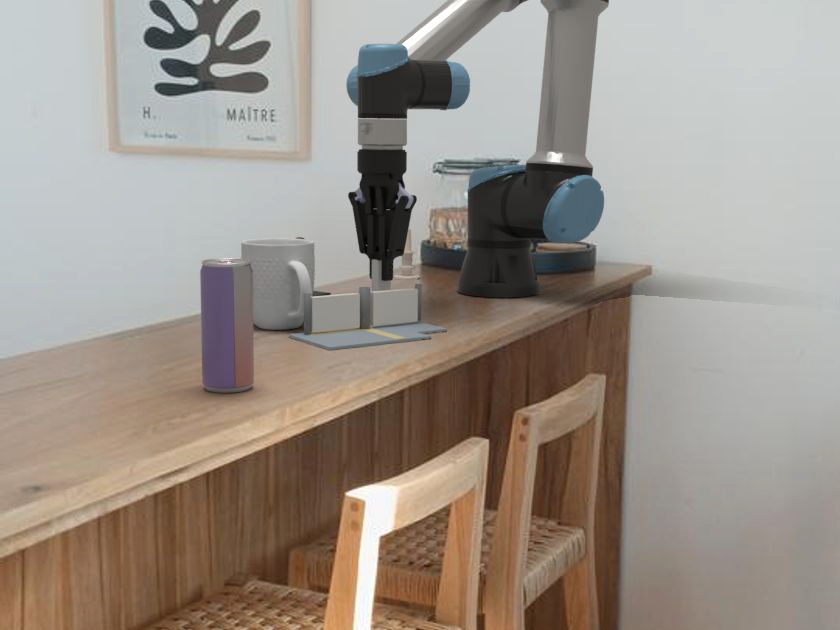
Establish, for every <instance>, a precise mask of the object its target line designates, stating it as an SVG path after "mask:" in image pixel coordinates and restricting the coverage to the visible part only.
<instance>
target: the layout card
mask: <svg viewBox="0 0 840 630" xmlns="http://www.w3.org/2000/svg"><path fill="white" fill-rule="evenodd" d="M440 331H448V329H447V328H445V327H442V326H436V325H433V324H429V323H425V322H421V321H416V322H406V323H397V324H387V325H377V326H372V325H370V329H359V327H358V328H348V329H338V330H328V331H318V332H311V334H310V335H304V332H299V333H290V334H289V333H288V338H290V339H294V340H296V341H299V342H303V343H306V344H309V345H313V346H315V347H318V348H322V349H325V350H327V351H335V350H343V349H344V350H345V349H350V348H351V349H353V348H362V347H370V346H379V345H387V344H397V343H405V342H406V343H407V342H416V341H423V340H422V339H425V340H430V339H429V338H431V339H432V335H429V334H434V333H433V332H437V333H441V332H440ZM425 333H428V334H425ZM415 340H416V341H415Z"/></svg>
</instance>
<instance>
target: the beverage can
mask: <svg viewBox="0 0 840 630" xmlns="http://www.w3.org/2000/svg"><path fill="white" fill-rule="evenodd" d="M250 263H251V261H250V260H247V259H241V258H235V257H234V258H231V257H228V258H227V257H226V258H223V257H222V258H209V259H208V258H207V259H204V260H202V261H201V264H202V265H201V268H200V273H199V274H200V275H199V277H200V278H199V279H200V325H201V326H200V328H201V330H200V331H201V376H202V377H201V380H202V381H201V383H202V385H203V386H204V389H206V391H208V392H211V393H220V394H235V393H242V392H246V391H249V390H250V389H251V388H252V386H253V385H254V382H255V373H254V371H255V370H254V369H255V365H254V364H255V362H254V360H255V359H254V356H255V355H254V353H255V352H254V351H255V350H254V349H255V348H254V322H253V270H252V268H251V265H250Z"/></svg>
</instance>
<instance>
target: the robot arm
mask: <svg viewBox="0 0 840 630" xmlns="http://www.w3.org/2000/svg"><path fill="white" fill-rule="evenodd" d="M527 1H529V0H447V1H446V2H444V3H443V4H441V6H439V7H438V8H437V9H436V10H434V11H433V12H432V13H431V14H430V15H428V16H427V17H426V18H425V19H424V20H423V21H422V22H420V23H419V24H418V25H417V26H415V27H414V28H413V29H412V30H410V31H409V33H407V34H406V35H405V36H404V37H402V38H401V39H400V40H399V41H398V42H396V43H367V44H364V45H362V46H361V47H360V48H359V50H358V57H357V64H356V66H354V67H353V68H352V69H351V70H350V71H349V73H348V75H347V78H346V92H347V96H348V98H349V99H350V101H351V102H352V103H353V104H354V105H355V106H356V107H357V144H358V145H359V146H361V148H359V149H358V150H357V152H356V153H357V155H356V156H357V160H356V161H357V162H356V163H357V165H356V167H357V172H358V173H359V174H361V178H360V181H359V187H358V188H357V189H356V190H355V191H349V192H348V194H347V197H348V199H349V202H350V205H351V206H352V212H353V219H354V224H355V230H356V238H357V244H358V248H359V249H358V250H359V252H360V254H364V255H366V256H367V258H368V259H369V274H368V275H369V278H370V280H371V292H373V291H385V290H392V281H393V279H394V260H395V259H397V258H399V257H402V256H403V254H404V250H405V245H406V239H407V234H408V229H410V228H409V227H410V223H411V219H412V212H413V208H414V207H415V205H416V203H417V199H418V198H417V196H416V195H415V194H409V192H408V191H407V190H405V189H406V185H405V182H404V179H403V178H404V177H403V176H404V175H405V174H406V173H407V171H408V170H407V169H408V167H407V161H408V160H407V156H408V155H407V152H408V151H406V149H404V147H405V146H407V145H408V129H407V128H408V120H407V119H408V110H439V111H447V110H457V109H459V108H460V107H462V106H463V105H465V103H466V101H467V100H468V99H469V96H470V91H471V79H470V78H471V77H470V74H469V72H468V70H467V69H466V67H464V65H462V63H461V64H460V63H459V62H456V61H449V60H448V59H449V58H450V57H452V56H453V55H454V54H455V53H456V52H457V51H458V50H460V49H461V48H462V46H464V45H466V43H468V41H470V40H471V39H472V38H473V37H475V36H476V35H478V33H479V32H481V30H483V29H484V28H485V27H486V26H487V25H489V24H490V23H491V22H492V21H493V20H494V19H496V17H498V16H499V15H501V13H509V12H512V11H514V10H515V9H516V8H517V7H519V6H520V5H521V4H523V3H525V2H527ZM609 3H610V0H540V4H541V5H542V6H543V7H544V8H545V9H546V11H547V25H546V26H547V27H546V35H545V36H546V37H545V47H544V58H543V67H542V69H543V70H542V81H541V91H540V100H539V101H540V103H539V111H538V112H539V113H538V114H539V115H538V125H537V136H536V138H537V139H536V145H535V146H536V147H535V152H534V154H533V155H532V156H531V157H530V158H528V159H527V160H526V161H525V162H526V163H525V164H510V165H509V164H508V165H499V166H498V165H497V166H495V165H494V166H489V167H481V168H477V169H474V170H473V171H472V172H471V173H470V175H469V177H468V189H467V248H466V249H467V250H466V254H465V256H464V259H463V262H462V266H461V270H460V272H459V276H458V278H457V281H456V282H457V285H456V287H457V290H456V291H457V292H458V293H459V294H462V295H467V296H473V297H474V296H475V297H483V298H484V297H485V298H486V297H487V298H522V297H531V295H532V296H536V295H538V294H540V279H539V277H538V274H537V273H538V272H537V269H536V265H535V261H534V258H533V255H532V250H531V249H532V246H531V245H532V240H535V241H537V240H538V241H544V242H545V241H546V242H551V243H555V244H556V243H557V244H565V243H569V244H570V243H571V244H572V243H578V242H581V241H583V240H585V239H586V238H588V237H589V236H590V235H591V233H592V232H594V231H595V230H596V228H597V227H598V225H599V223H600V222H601V219H602V215H603V214H604V213H603V212H604V209H605V208H604V206H605V194H604V191H603V190H602V186H601V184H600V182H599V181H598V180H597V179H595V178H594V177H593V174H594V173H593V172H594V165H592V162H591V161H589V160H588V158H587V155H586V154H587V153H586V152H587V144H588V143H587V141H588V130H589V121H590V111H591V110H590V109H591V101H592V99H591V98H592V89H593V88H592V87H593V79H594V78H593V77H594V67H595V56H596V46H597V45H596V44H597V36H598V26H599V25H598V24H599V22H598V21H599V17H600V14H602V13H603V12H604V11H605V10H606V9H607V8H609ZM537 293H538V294H537ZM535 294H536V295H535Z"/></svg>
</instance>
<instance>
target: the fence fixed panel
mask: <svg viewBox="0 0 840 630" xmlns="http://www.w3.org/2000/svg"><path fill="white" fill-rule="evenodd" d="M358 291H359V292H358V293H357V292H351V293H341V294H340V293H338V294H337V293H336V294H331V295H325V296H313V297H311V293H304V322H303V333H304V335H310V334H311V332H318V331H328V330H338V329H348V328H358V327H359V329H370V326H371V325H370V292H371V287H370V286H359V288H358Z"/></svg>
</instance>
